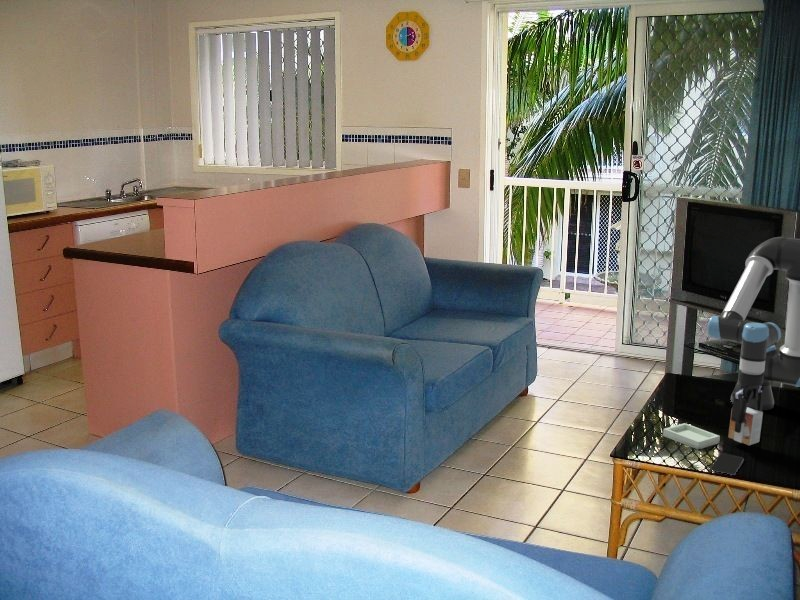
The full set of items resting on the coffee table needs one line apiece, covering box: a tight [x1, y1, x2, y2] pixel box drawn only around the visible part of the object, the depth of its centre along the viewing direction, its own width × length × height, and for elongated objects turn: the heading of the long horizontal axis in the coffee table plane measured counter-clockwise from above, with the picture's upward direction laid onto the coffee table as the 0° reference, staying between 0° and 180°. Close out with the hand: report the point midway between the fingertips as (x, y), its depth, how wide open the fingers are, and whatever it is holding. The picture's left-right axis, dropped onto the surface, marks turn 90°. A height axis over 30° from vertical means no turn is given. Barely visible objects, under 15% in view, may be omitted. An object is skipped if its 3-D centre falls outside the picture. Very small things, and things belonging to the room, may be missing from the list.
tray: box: [662, 422, 721, 450], centre depth 288 cm, size 11×14×2 cm
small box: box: [727, 407, 764, 446], centre depth 282 cm, size 8×6×10 cm
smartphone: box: [710, 452, 745, 476], centre depth 267 cm, size 7×1×15 cm
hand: (744, 439), depth 283 cm, fingers closed on small box, 6 cm apart
